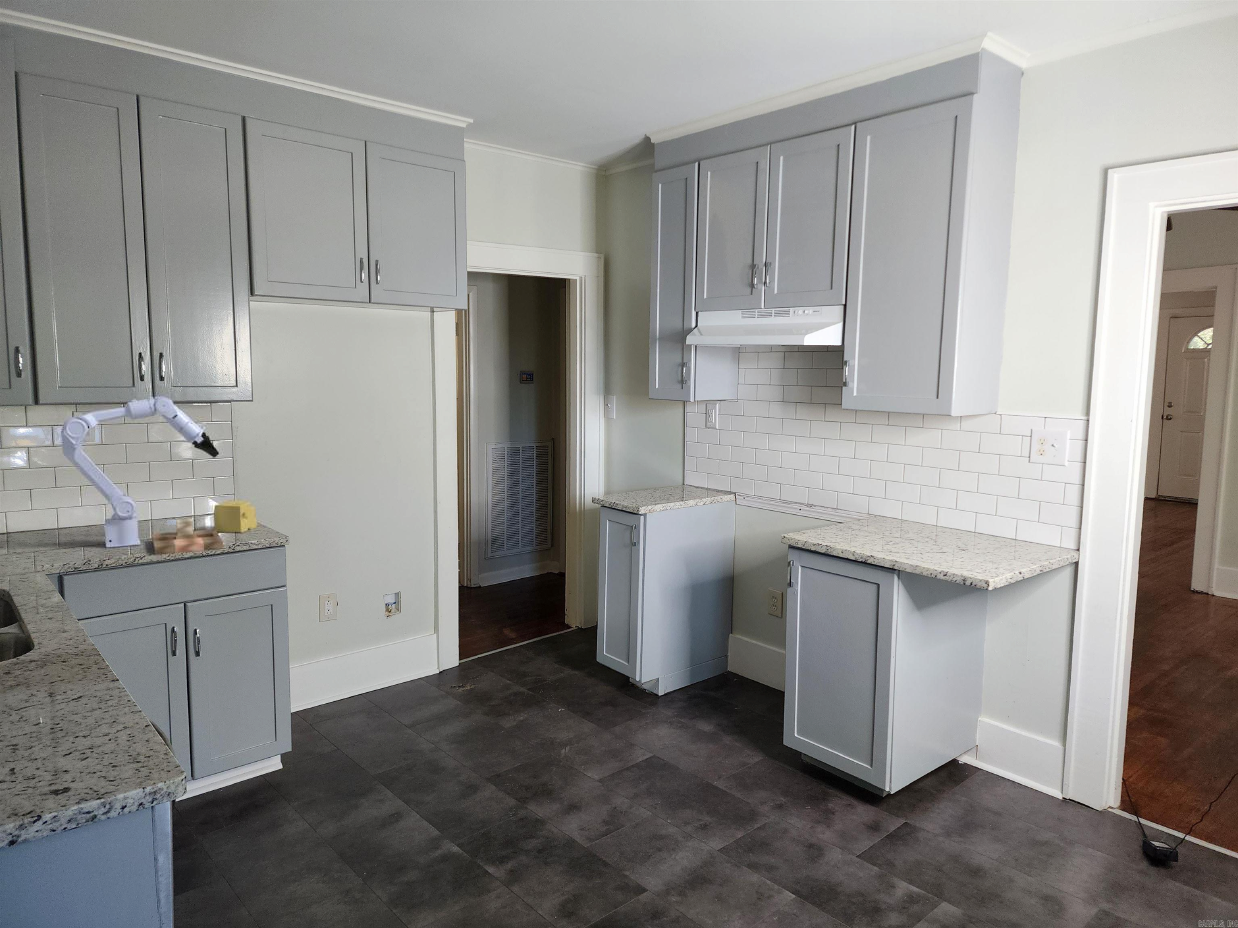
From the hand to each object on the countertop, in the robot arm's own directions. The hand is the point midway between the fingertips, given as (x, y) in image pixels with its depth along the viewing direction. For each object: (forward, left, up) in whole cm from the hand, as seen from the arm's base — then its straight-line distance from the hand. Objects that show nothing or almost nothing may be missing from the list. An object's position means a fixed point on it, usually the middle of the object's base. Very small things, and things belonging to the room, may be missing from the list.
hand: (215, 454), depth 279 cm
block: (-10, -4, -26) cm, 28 cm away
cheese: (+7, +9, -29) cm, 31 cm away
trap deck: (-10, -11, -29) cm, 32 cm away
